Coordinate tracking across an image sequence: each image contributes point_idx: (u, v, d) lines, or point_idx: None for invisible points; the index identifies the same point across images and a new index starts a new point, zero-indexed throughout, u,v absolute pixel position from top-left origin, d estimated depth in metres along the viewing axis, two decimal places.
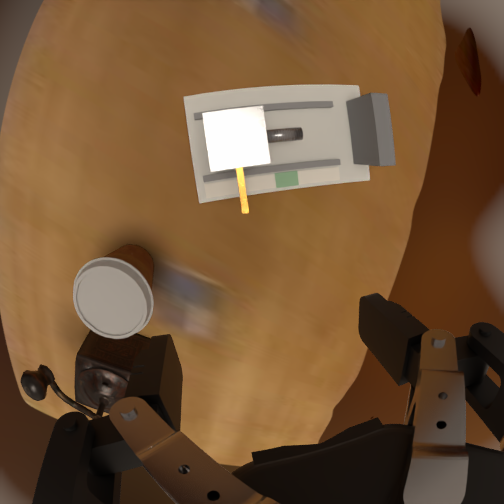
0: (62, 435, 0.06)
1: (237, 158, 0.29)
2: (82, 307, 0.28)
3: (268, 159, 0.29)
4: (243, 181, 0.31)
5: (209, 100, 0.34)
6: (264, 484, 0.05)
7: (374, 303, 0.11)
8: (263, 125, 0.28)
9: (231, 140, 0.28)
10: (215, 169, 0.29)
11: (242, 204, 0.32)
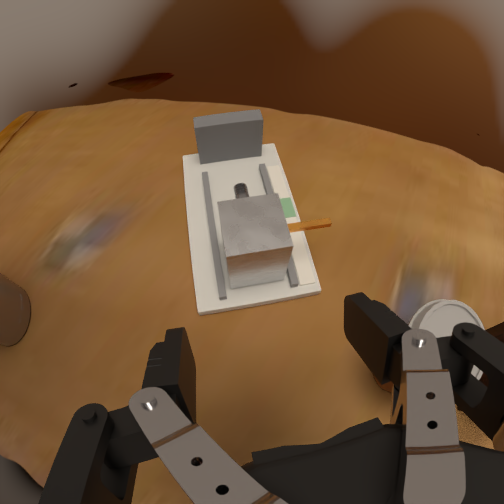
0: (80, 426, 0.06)
1: (276, 221, 0.28)
2: None
3: (274, 194, 0.29)
4: (298, 223, 0.30)
5: (203, 284, 0.34)
6: (264, 484, 0.05)
7: (357, 302, 0.11)
8: (238, 200, 0.29)
9: (256, 227, 0.27)
10: (290, 241, 0.27)
11: (322, 223, 0.30)
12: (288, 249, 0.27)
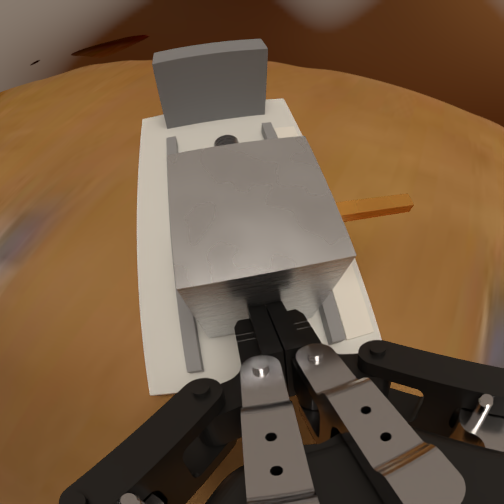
0: (187, 398, 0.07)
1: (308, 195, 0.11)
2: None
3: (297, 139, 0.12)
4: (350, 202, 0.13)
5: (159, 341, 0.16)
6: None
7: (271, 311, 0.12)
8: (216, 149, 0.12)
9: (259, 209, 0.11)
10: (347, 243, 0.10)
11: (397, 204, 0.13)
12: (341, 264, 0.10)
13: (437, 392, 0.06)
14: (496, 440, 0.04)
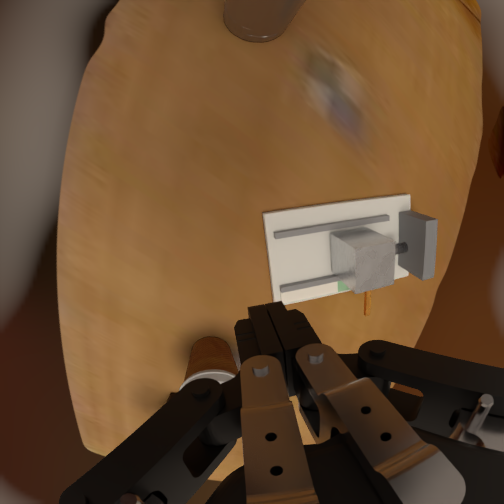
0: (187, 398, 0.07)
1: (373, 282, 0.36)
2: None
3: (393, 281, 0.37)
4: (370, 294, 0.39)
5: (287, 218, 0.41)
6: None
7: (271, 311, 0.12)
8: (393, 256, 0.35)
9: (372, 269, 0.36)
10: (358, 292, 0.36)
11: (366, 310, 0.39)
12: (353, 289, 0.37)
13: (437, 392, 0.06)
14: (496, 440, 0.04)
